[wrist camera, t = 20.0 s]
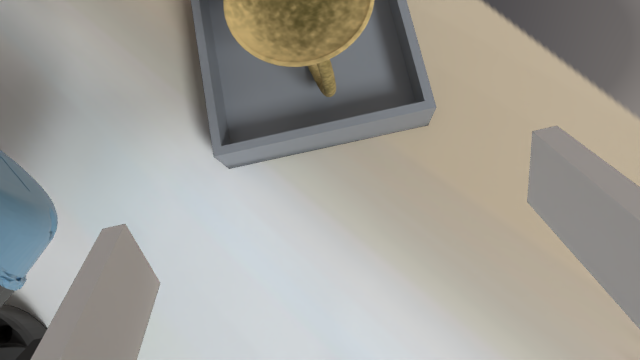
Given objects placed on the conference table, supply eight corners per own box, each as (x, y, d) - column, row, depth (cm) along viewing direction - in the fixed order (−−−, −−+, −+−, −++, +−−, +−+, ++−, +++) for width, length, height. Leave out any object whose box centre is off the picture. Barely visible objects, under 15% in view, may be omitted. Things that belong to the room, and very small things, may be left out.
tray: (229, 168, 37) (213, 156, 33) (202, -8, 40) (185, -37, 37) (427, 125, 36) (436, 107, 32) (380, -50, 40) (382, -85, 36)
